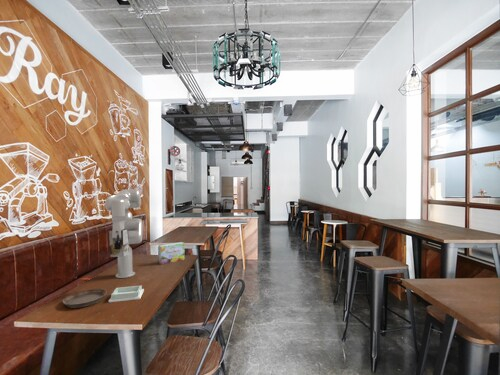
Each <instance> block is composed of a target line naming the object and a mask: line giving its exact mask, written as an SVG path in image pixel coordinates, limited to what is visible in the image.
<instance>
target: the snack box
mask: <svg viewBox="0 0 500 375" xmlns="http://www.w3.org/2000/svg"><path fill="white" fill-rule="evenodd" d="M157 252H158V253H157V254H158V255H157V257H158V258H157V259H158V260H157V262H158V263H157V264H158V265H166V263H167V264H171V262H172V263H177V262H180V261H181V260H182V261H184V260H185V242H182V241H179V242H172V243H166V244H160V245H157Z"/></svg>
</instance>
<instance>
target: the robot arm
mask: <svg viewBox="0 0 500 375" xmlns="http://www.w3.org/2000/svg"><path fill="white" fill-rule="evenodd" d="M141 198H142V197H141V192H140V191H139V190H138V189H130V188H129V189H121V190H120V191H119V192H118V193H117V194H114V195H110V196H108V197H107V198H106V200H105V202H104V207H105V210H106V211H108V212H109V211H111V223H112V229H111V230H112V238H113V239H114V238H115V239H114V240H115V241H114V245H115V249H121V246H120V238H121V230H123V229H128V240H129V254H128V255H126V256H124V257H117V273H116V274H115V278H117V279H126V278H131V277H132V276H135V275H136V272H135V271H133V270H134V269H133V266H134V265H133V249H132V247H131V246H130V245H134V244H135V245H137V244H141V243H142V241H143V238H144V237H143V232H144V229H143V226H144V225H143V220H142V219H141V218H139V217H137V218H136V217H135V218H134V217H133V213H132V212H131V211H130V210H129V209H134V208H135V209H137V208H140V207H141V206H142V199H141ZM118 235H119V237H117V236H118ZM118 239H119V240H118Z"/></svg>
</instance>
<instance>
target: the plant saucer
mask: <svg viewBox="0 0 500 375" xmlns="http://www.w3.org/2000/svg"><path fill="white" fill-rule="evenodd" d="M106 295H107V290H106V289H101V288H94V289H86V290H81V291H78V292H75V293H72V294H70V295H68V296H66V297H65V298H63V299H62V303H63V304H64V306H66V307H68V308H70V309H71V308H72V309H73V308H75V309H77V308H85V307H89V306H92V305H95V304H97V303H99V302H100V301H102V300H103V299H104V297H105V296H106Z"/></svg>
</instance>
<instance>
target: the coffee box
mask: <svg viewBox="0 0 500 375" xmlns="http://www.w3.org/2000/svg"><path fill="white" fill-rule="evenodd" d="M108 233H109V234H108V235H109V237H108V238H109V256H110V257H111V258H114V257H115V258H118V257H124V256H126V255H128V254H129V246H130V244H129V240H128V229H123V230H121V238H120V246H121V249H115V245H114V241H115V240H114V239H115V238H114V239H113V238H112V229H111V230H109V231H108ZM117 237H119V235H118V236H117ZM118 240H119V239H118Z"/></svg>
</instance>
